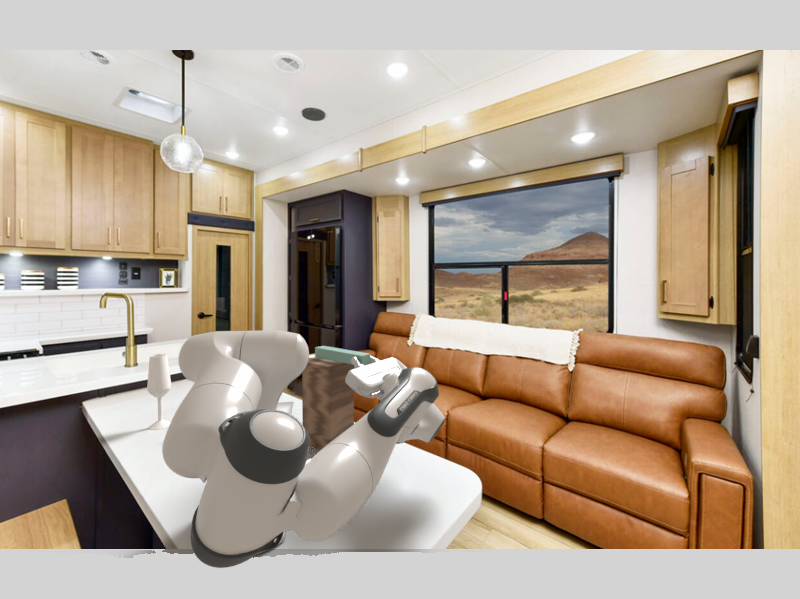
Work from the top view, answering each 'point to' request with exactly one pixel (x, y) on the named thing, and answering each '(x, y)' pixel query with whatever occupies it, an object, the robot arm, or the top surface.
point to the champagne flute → (159, 385)
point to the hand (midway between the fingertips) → (359, 357)
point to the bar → (341, 355)
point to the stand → (326, 400)
